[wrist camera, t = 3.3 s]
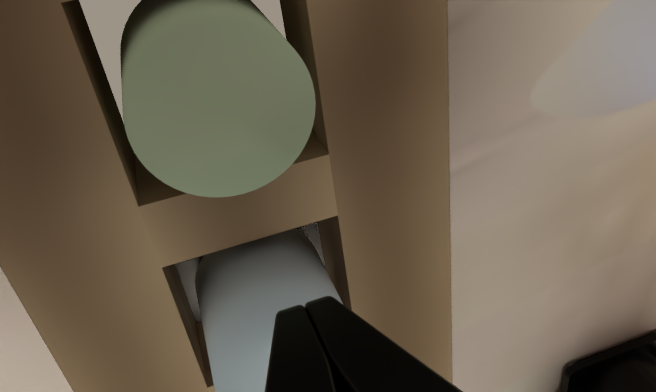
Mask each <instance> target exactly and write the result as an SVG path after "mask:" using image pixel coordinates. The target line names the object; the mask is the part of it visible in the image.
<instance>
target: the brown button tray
mask: <svg viewBox="0 0 656 392" xmlns="http://www.w3.org/2000/svg"><path fill="white" fill-rule="evenodd" d="M280 4H281V10H282V16H283V22H284V28H285V33H286V39H287V41H288V42H289V44H290V45H291V46H292V47H293V48H294V49H295V50H296V52H297V53H298V54H299V56H300V57H301V58H302V60H303V62H304V63H305V65H306V67H307V69H308V71H309V74H310V76H311V79H312V82H313V87H314V91H315V102H316V106H315V118H314V123H313V127H312V130H311V133H310V136H309V139H308V141H307V143H306V145H305V147H304V148H303V150H302V152H301V153H300V155H299V156H298V158H297V159H296V160H295V161H294V163H293V164H292V165H291V166H290V167H289V168H288V169H287V170H286V171H285V172H284V173H282V174H281V175H280V176H279V177H277V178H276V179H275V180H273V181H271V182H270V183H268V184H266V185H265V186H262V187H260V188H258V189H256V190H254V191H251V192H248V193H245V194H241V195H236V196H230V197H203V196H196V195H192V194H188V193H185V192H182V191H179V190H177V189H174V188H173V187H171V186H169V185H167V184H165V183H164V182H162V181H161V180H159V179H158V178H156V177H155V176H154V175H153V174H152V173H151V172H149V171H148V170H147V169H146V168H145V166H144V165H143V164H142V163H141V162H140V160H139V159H138V157H137V156H136V154H134V151H133V149H132V147H131V145H130V142H129V140H128V137H127V134H126V130H125V126H124V124H123V121H122V118H121V115H120V113H119V110H118V107H117V104H116V101H115V99H114V96H113V93H112V91H111V88H110V85H109V82H108V80H107V77H106V74H105V71H104V68H103V66H102V63H101V60H100V57H99V55H98V52H97V49H96V46H95V43H94V41H93V38H92V35H91V33H90V30H89V27H88V24H87V21H86V19H85V16H84V13H83V10H82V8H81V5H80V2H79V0H0V267H1V268H2V270H3V272H4V274H5V275H6V277H7V279H8V280H9V282H10V284H11V286H12V287H13V289H14V291H15V292H16V294H17V296H18V297H19V299H20V301H21V303H22V304H23V306H24V308H25V309H26V311H27V313H28V315H29V316H30V318H31V320H32V321H33V323H34V325H35V327H36V328H37V330H38V332H39V333H40V335H41V337H42V339H43V340H44V342H45V344H46V345H47V347H48V349H49V350H50V352H51V354H52V356H53V357H54V359H55V361H56V362H57V364H58V366H59V368H60V369H61V371H62V373H63V374H64V376H65V378H66V380H67V381H68V383H69V385H70V386H71V388H72V390H73V391H74V392H215V388H214V383H213V378H212V372H211V367H210V362H209V357H208V351H207V346H206V341H205V336H204V330H203V325H202V321H201V322H198V323H196V322H195V319H194V316H193V314H192V311H191V308H190V305H189V303H188V300H187V297H186V294H185V292H184V289H183V286H182V283H181V280H180V278H179V275H178V272H177V269H176V267H175V264H176V263H179V262H183V261H186V260H189V259H193V258H196V257H199V256H203V255H206V254H209V253H213V252H216V251H220V250H223V249H226V248H230V247H233V246H236V245H240V244H243V243H247V242H250V241H253V240H257V239H260V238H263V237H267V236H270V235H274V234H277V233H280V232H284V231H287V230H290V229H294V228H297V227H300V226H304V225H307V224H311V223H314V222H317V221H318V225H319V231H320V237H321V243H322V249H323V254H324V260H325V266H326V271H327V273H328V275H329V277H330V279H331V281H332V283H333V285H334V287H335V289H336V291H337V293H338V295H339V297H340V299H341V301H342V303H343V305H345V306H346V307H347V308H349V309H350V310H351V311H353V312H354V313H356V314H357V315H358V316H360V317H361V318H362V319H364V320H365V321H367V322H368V323H369V324H371V325H372V326H373V327H375V328H376V329H378V330H379V331H380V332H382V333H383V334H384V335H386V336H387V337H389V338H390V339H391V340H393V341H394V342H395V343H397V344H398V345H399V346H401V347H402V348H404V349H405V350H406V351H408V352H409V353H410V354H412V355H413V356H415V357H416V358H417V359H419V360H420V361H421V362H423V363H424V364H426V365H427V366H428V367H430V368H431V369H432V370H434V371H435V372H437V373H438V374H439V375H441V376H442V377H443V378H445V379H446V380H447V381H449V382H450V383H452V321H451V244H450V167H449V90H448V13H447V0H280Z"/></svg>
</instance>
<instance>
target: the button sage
mask: <svg viewBox="0 0 656 392" xmlns="http://www.w3.org/2000/svg"><path fill="white" fill-rule="evenodd" d="M121 78H122V97H123V98H122V101H123V118H124V126H125V130H126V134H127V137H128V140H129V142H130V145H131V147H132V149H133V151H134V153H135V154H136V156H137V157H138V159H139V160H140V162H141V163H142V164H143V165H144V166H145V168H146V169H147V170H148V171H149V172H151V173H152V174H153V175H154V176H155V177H156V178H158V179H159V180H161V181H162V182H164V183H165V184H167V185H169V186H171V187H173V188H174V189H177V190H179V191H182V192H185V193H188V194H192V195H196V196H203V197H230V196H236V195H241V194H245V193H248V192H251V191H254V190H256V189H258V188H260V187H262V186H265V185H266V184H268V183H270V182H271V181H273V180H275V179H276V178H277V177H279V176H280V175H281V174H282V173H284V172H285V171H286V170H287V169H288V168H289V167H290V166H291V165H292V164H293V163H294V161H295V160H296V159H297V158H298V156H299V155H300V153H301V152H302V150H303V148H304V147H305V145H306V143H307V141H308V139H309V136H310V133H311V130H312V127H313V123H314V118H315V106H316V102H315V91H314V87H313V82H312V79H311V76H310V74H309V71H308V69H307V67H306V65H305V63H304V62H303V60H302V58H301V57H300V56H299V54H298V53H297V52H296V50H295V49H294V48H293V47H292V46H291V45H290V44H289V42H288V41H287V40H286V39H285V38H284V37H283V36H282V35H281V33H280V32H279V31H278V30H277V29H276V28H275V27H274V26H273V24H271V22H270V21H269V20H268V19H267V18H266V17H265V16H264V14H263V13H262V12H261V11H260V10H259V9H258V8H257V7H256V6H255V4H253V2H251V0H142V1H141V2H140V3H139V4H138V5H137V6H136V7H135V9H134V10H133V12H132V13H131V15H130V16H129V18H128V21H127V23H126V25H125V28H124V31H123V35H122V40H121Z"/></svg>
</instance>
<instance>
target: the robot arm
mask: <svg viewBox="0 0 656 392" xmlns="http://www.w3.org/2000/svg"><path fill="white" fill-rule="evenodd" d="M265 392H463V391H461V390H460V389H458V388H457V387H456V386H454V385H453V384H452V383H450V382H449V381H447V380H446V379H445V378H443V377H442V376H441V375H439V374H438V373H437V372H435V371H434V370H432V369H431V368H430V367H428V366H427V365H426V364H424V363H423V362H421V361H420V360H419V359H417V358H416V357H415V356H413V355H412V354H410V353H409V352H408V351H406V350H405V349H404V348H402V347H401V346H399V345H398V344H397V343H395V342H394V341H393V340H391V339H390V338H389V337H387V336H386V335H384V334H383V333H382V332H380V331H379V330H378V329H376V328H375V327H373V326H372V325H371V324H369V323H368V322H367V321H365V320H364V319H362V318H361V317H360V316H358V315H357V314H356V313H354V312H353V311H351V310H350V309H349V308H347V307H346V306H345V305H343V304H342V303H341V302H339V301H338V300H336V299H335V298H334V297H332V296H324V297H321V298H318V299H315V300H312V301H309V302H307V303H306V304H305V307H304V306H303V305H296V306H293V307H290V308H286V309H283V310H280V311H278V312H277V314H276V317H275V323H274V330H273V337H272V344H271V351H270V358H269V365H268V371H267V378H266V385H265ZM561 392H656V333H653V334H651V335H648V336H645V337H643V338H640V339H637V340H635V341H632V342H629V343H627V344H624V345H622V346H619V347H616V348H614V349H611V350H608V351H606V352H603V353H600V354H598V355H595V356H593V357H590V358H587V359H585V360H582V361H579V362H577V363H574V364H572V365H570V366H569V367H568V368H567V369H566V370H565V372H564V377H563V383H562V390H561Z"/></svg>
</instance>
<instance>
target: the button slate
mask: <svg viewBox="0 0 656 392" xmlns="http://www.w3.org/2000/svg"><path fill="white" fill-rule="evenodd" d="M195 288H196V293H197V299H198V304H199V309H200V314H201V320H202V325H203V330H204V336H205V341H206V346H207V351H208V357H209V362H210V367H211V372H212V378H213V383H214V388H215V392H265V385H266V378H267V371H268V365H269V358H270V351H271V344H272V337H273V330H274V323H275V317H276V314H277V312H278V311H280V310H283V309H286V308H290V307H293V306H296V305H303V306H304V307H305V304H306V303H307V302H309V301H312V300H315V299H318V298H321V297H324V296H332V297H334V298H335V299H336V300H338V301H339V302H341V303H342V301H341V299H340V297H339V295H338V293H337V291H336V289H335V287H334V285H333V283H332V281H331V279H330V277H329V275H328V273H327V271H326V269H325V267H324V265H323V263H322V261H321V259H320V257H319V255H318V253H317V251H316V249H315V247H314V245H313V244H312V242H311V241H310V240H309V239H308V237H307V236H306V235H304V234H303V233H302V232H300V231H299V230H297V229H295V228H294V229H290V230H287V231H284V232H280V233H277V234H274V235H270V236H267V237H263V238H260V239H257V240H253V241H250V242H247V243H243V244H240V245H236V246H233V247H230V248H226V249H223V250H220V251H216V252H213V253H209V254H206V255H204V256H203V258H202V259H201V261H200V263H199V266H198V268H197V272H196V277H195ZM342 304H343V303H342Z"/></svg>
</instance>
